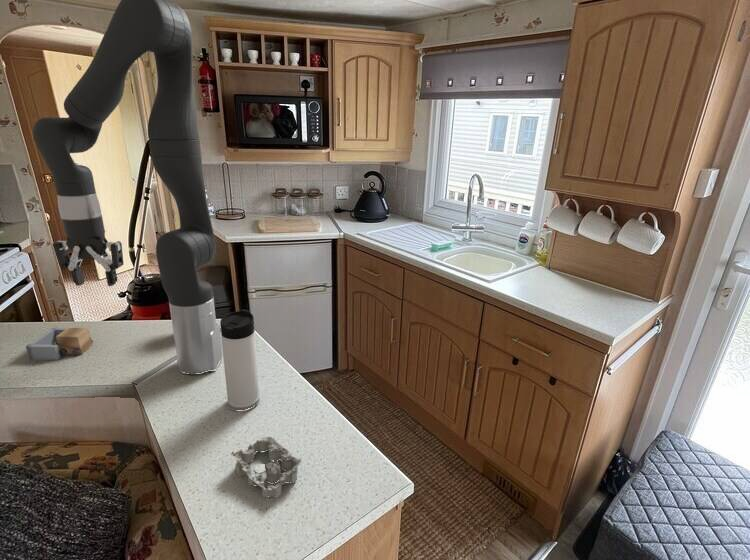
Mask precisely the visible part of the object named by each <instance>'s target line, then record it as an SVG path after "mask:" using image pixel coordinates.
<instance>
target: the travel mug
mask: <svg viewBox="0 0 750 560" xmlns="http://www.w3.org/2000/svg"><path fill="white" fill-rule="evenodd" d="M254 319H255V318H254V315H253V314H252V313H251V311H250V309H249V310H247V309H243V308H242V309H240V310H239V311H234V312H233V311H232V312H229V313H226V315H224V316H223V317H222V318H221V319H220V323H219V325H220V335H221V345H222V355H223V366H224V367H223V368H224V374H225V376H224V377H225V385H226V397H227V405H229V406H228V408H229V407H230V408H232V409H234V410H245V409H248V408H251V407H253V406H254V405H256V404H257V403H258V401H259V402H260V391H259V390H260V389H259V375H258V359H257V345H256V330H255V320H254ZM258 404H259V403H258ZM258 404H257V405H258ZM232 409H231V410H232ZM234 410H233V411H234Z"/></svg>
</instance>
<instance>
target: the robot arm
mask: <svg viewBox="0 0 750 560" xmlns="http://www.w3.org/2000/svg"><path fill="white" fill-rule="evenodd" d="M106 28H107V29H105V30H106V31H105V33H104V34H103V37H102V38H101V41H100V43H99V45H98V48H97V50H96V52H95V54H94V56H93V59H92V60H91V62H90V64H89V65H88V67H87V69H86V71H85V72H84V73H83V75H82V76H81V77H80V78H79V79H78V81H77V82H76V84H75V85H74V86H73V87H72V89H71V91H70V92H69V93H68V94H67V96H66V97H65V99H64V101H63V108H64V109H63V110H64V112H65V113H66V115H67V116H68V117H56V116H55V117H53V116H52V117H51V116H49V117H47V116H46V117H41V118H39V119H37V120H36V121H35V122H34V124H33V127H32V137H33V141H34V144H35V147H36V149H37V150H38V152H39V154H40V155H41V157H42V159H43V161H44V163H45V164H46V166H47V168H48V170H49V172H50V173H51V175H52V180H53V183H54V188H55V191H56V192H55V193H56V196H57V197H56V198H57V207H58V212H59V215H60V220H61V224H62V230H63V233H64V236H65V237H66V240H64V239H59V240H57V241H55V242H53V243H52V248H53V250H54V253H55V257H56V258H57V259H56V260H57V263H58V266H59V267H60V268H61V269H64V268H65V269H68V271H70V274H71V278H72V282H73V283H74V284H75V286H78V287H79V286H82V285H84V284H85V277H84V273H83V269H82V267H81V264H82V262H83V260H87V259H88V260H92V261H96V262H97V263H98V264H99V265H101V266H102V268H103V269H104V270H105V271H104V272H105V278H106V283H107V287H108V286H109V287H113V286H114V285H116V283H117V282H118V275H117V270H118V269H119V268H121V267H122V266H123V265H124V255H123V254H124V253H123V245H122V242H121V241H120V240H117V241H114V242H113V241H108V239H107V238H106V231H105V225H104V220H103V219H104V218H103V215H102V210H101V204H100V201H99V199H98V195H97V191H96V187H95V186H96V185H95V181H94V176H93V172H92V170H91V169H90V167H88V166H86V165H82V164H77V163H76V162H75V160H74V159H73V157H72V155H71V154H78V153H79V154H80V153H81V154H82V153H84V152H87V151H89V150H90V149H92V148H93V147H94V146H95V144H96V143H97V141H98V138H99V135H100V134H101V130H102V127H103V123H104V122H105V121H107V119H108V118H109V117H110V115H111V114H112V113H113V112H114V111H115V109H116V108H117V107H118V105H119V104H120V102H121V101H122V99H123V96H124V92H125V84H126V77H127V75H128V73H129V72H128V71H129V70H130V68H131V67H132V66H133V65H134V63H136V62H137V60H139V58H140V57H142V56H143V55H145V54H146V53H147V52H150V53H153V55H154V61H155V67H156V75H157V89H156V93H155V98H154V100H153V103H152V107H151V110H150V114H149V118H148V122H147V137H148V145H149V150H150V157H151V162H152V165H153V168H154V170H155V171H156V174H157V176H159V178H160V180H161V182H163V184H164V185H165V186H166V188H167V189H168V191H169V192H170V193H171V195H172V197H173V199H174V201H175V204H176V206H177V211H178V216H179V228H177V229H173V230H171V231H167V232H165V233H163V234H161V235H160V236H159V237H158V239H157V241H156V245H155V246H156V247H155V254H156V261H157V266H158V271H159V275H160V280H161V284H162V287H163V290H164V292H165V293H166V295H167V299H168V305H169V311H170V319H171V326H172V331H173V339H174V344H175V345H174V346H175V352H176V353H175V354H176V359H177V365H178V366H177V367H178V370H179V369H180V370H181V371H182V372H185V373H189V374H196V373H202V372H205V371H208V370H214V369H216V367H217V365H218V363H219V361H220V360H221V358H222V356H223V348H222V338H221V325H220V323H217V319H216V310H215V308H216V307H215V300H214V298H215V297H214V290H213V286H212V284H211V283H210V282H208V281H205V280H199V279H198V273H197V269H199V268H202V267H204V266H205V265H207V264H209V263H210V262H211V261H213V259H214V258H215V255H216V250H217V245H216V239H215V234H214V227H213V224H212V220H211V215H210V210H209V205H208V201H207V200H208V199H207V194H206V184H205V179H204V173H203V161H202V159H203V158H202V149H201V141H200V133H199V127H198V119H197V109H196V108H197V107H196V99H195V88H194V69H193V68H194V67H193V66H194V63H193V62H194V61H193V60H194V59H193V56H194V55H193V54H194V53H193V34H192V33H193V31H192V26H191V23H190V20H189V18H188V16H187V13H186V12H185V11H184V10H183V8H182V7H181V6H179V4H177V3H176V2H174V1H171V0H120V1H119V3H118V5H117V6H116V9H115V11H114V13H113V14H112V17H111V19H110V22H109V24H108V26H107V27H106ZM107 248H108V251H107ZM69 250H70V251H71V252H72V254H71V256H70V252H69ZM109 252H110V253H111V254H110V253H109ZM221 361H222V360H221ZM217 368H218V367H217ZM180 370H179V371H180ZM216 370H217V369H216ZM181 371H180V372H181ZM182 372H181V373H182Z"/></svg>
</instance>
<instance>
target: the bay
mask: <svg viewBox="0 0 750 560" xmlns="http://www.w3.org/2000/svg"><path fill="white" fill-rule="evenodd" d="M67 328H68V327H52V328H51V329H49V330H48V331H46V332H45V333H44V334H42V335H40V336H39V337H37V338H36V339H35V340H33V341H31V342H30V343H29V344H27V345H26V346H25V348H26V352H27V356H28V359H29V360H35V361H36V360H45V361H46V360H47V361H48V360H49V361H52V360H53V361H59V360H60V359H61V358H62V356H61V355H60V353H59V346H58V344H56V343H55V342H57V339H56V336H57V335H59V334H60V333H62V332H63V331H64V330H66V329H67ZM54 343H55V344H54ZM57 343H58V342H57ZM53 344H54V345H53Z"/></svg>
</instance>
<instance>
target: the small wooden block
mask: <svg viewBox="0 0 750 560" xmlns="http://www.w3.org/2000/svg"><path fill="white" fill-rule="evenodd" d="M66 328H67V329H66V330H64V331H63V332H62V333H60V334H59V335H57V336H56V339H57V345H58V349H59V353H60V356H66V355H65V354H73V355H74V356H80V355H83V354H84V352H85V353H86V352H87V351H88V350H89V349H90V348H92V347H93V346H94V344H93V343H94V340H93V339H92V337H91V332H90V328H89V327H66Z"/></svg>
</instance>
